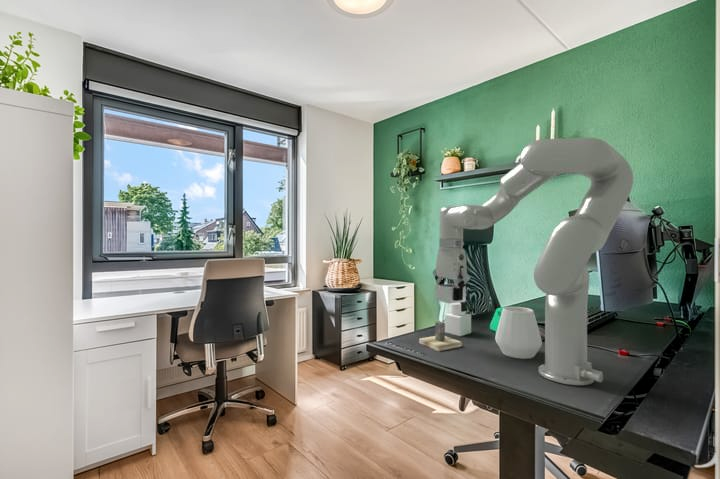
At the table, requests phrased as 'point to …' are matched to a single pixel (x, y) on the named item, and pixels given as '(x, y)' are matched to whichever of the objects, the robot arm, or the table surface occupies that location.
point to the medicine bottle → (458, 320)
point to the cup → (518, 333)
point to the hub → (447, 293)
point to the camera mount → (496, 319)
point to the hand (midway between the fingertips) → (449, 297)
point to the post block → (440, 339)
